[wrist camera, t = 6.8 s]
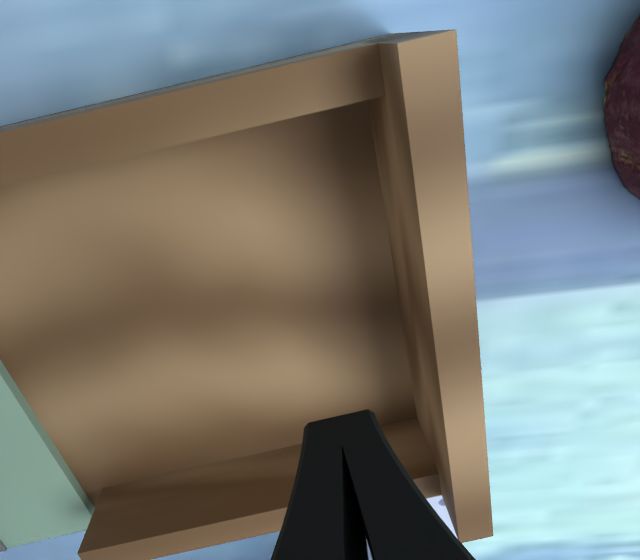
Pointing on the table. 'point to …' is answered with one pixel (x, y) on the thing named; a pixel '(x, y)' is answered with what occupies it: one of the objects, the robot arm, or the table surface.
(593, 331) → the table surface
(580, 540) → the table surface
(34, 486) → the green board
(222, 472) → the cart bed
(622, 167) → the vegetable
